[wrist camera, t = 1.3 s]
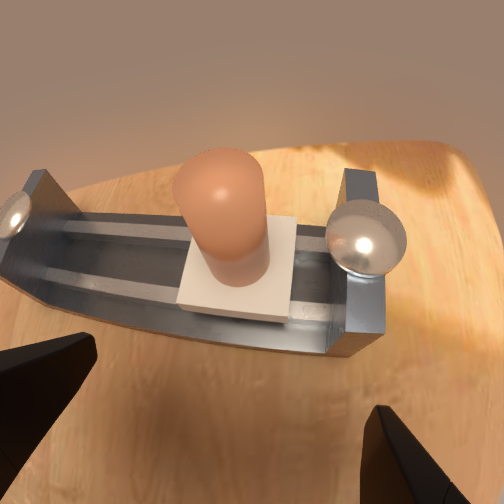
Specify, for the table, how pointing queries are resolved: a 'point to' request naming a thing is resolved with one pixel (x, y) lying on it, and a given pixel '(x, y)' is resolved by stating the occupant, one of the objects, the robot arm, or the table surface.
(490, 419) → the table surface
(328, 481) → the table surface
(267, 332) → the rail
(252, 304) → the carriage
